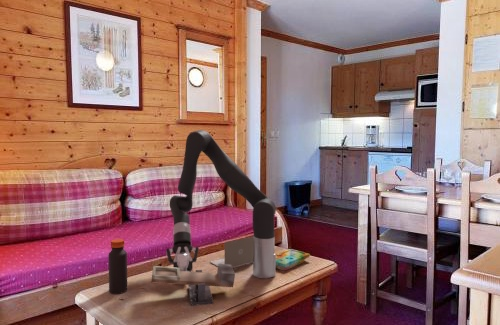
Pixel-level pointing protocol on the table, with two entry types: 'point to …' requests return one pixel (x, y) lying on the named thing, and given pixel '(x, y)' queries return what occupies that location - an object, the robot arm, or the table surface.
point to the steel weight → (183, 261)
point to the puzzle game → (290, 259)
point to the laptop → (237, 252)
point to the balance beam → (194, 276)
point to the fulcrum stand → (200, 294)
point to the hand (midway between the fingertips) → (183, 271)
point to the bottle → (117, 267)
